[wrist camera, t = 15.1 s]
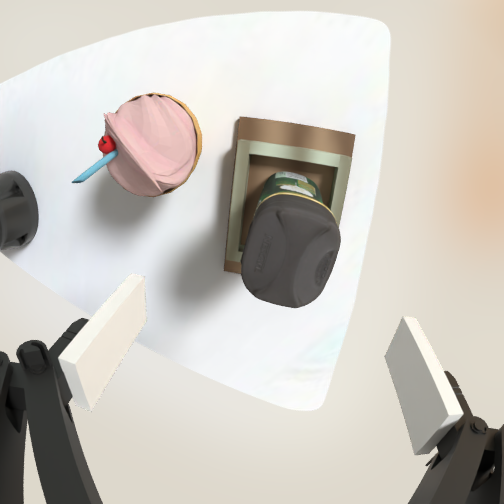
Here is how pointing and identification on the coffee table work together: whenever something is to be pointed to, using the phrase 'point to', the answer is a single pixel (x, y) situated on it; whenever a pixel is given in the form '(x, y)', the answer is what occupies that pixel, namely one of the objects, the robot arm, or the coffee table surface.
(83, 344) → the robot arm
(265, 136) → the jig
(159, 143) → the ice cream cone
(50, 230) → the coffee table surface
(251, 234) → the coffee jar
